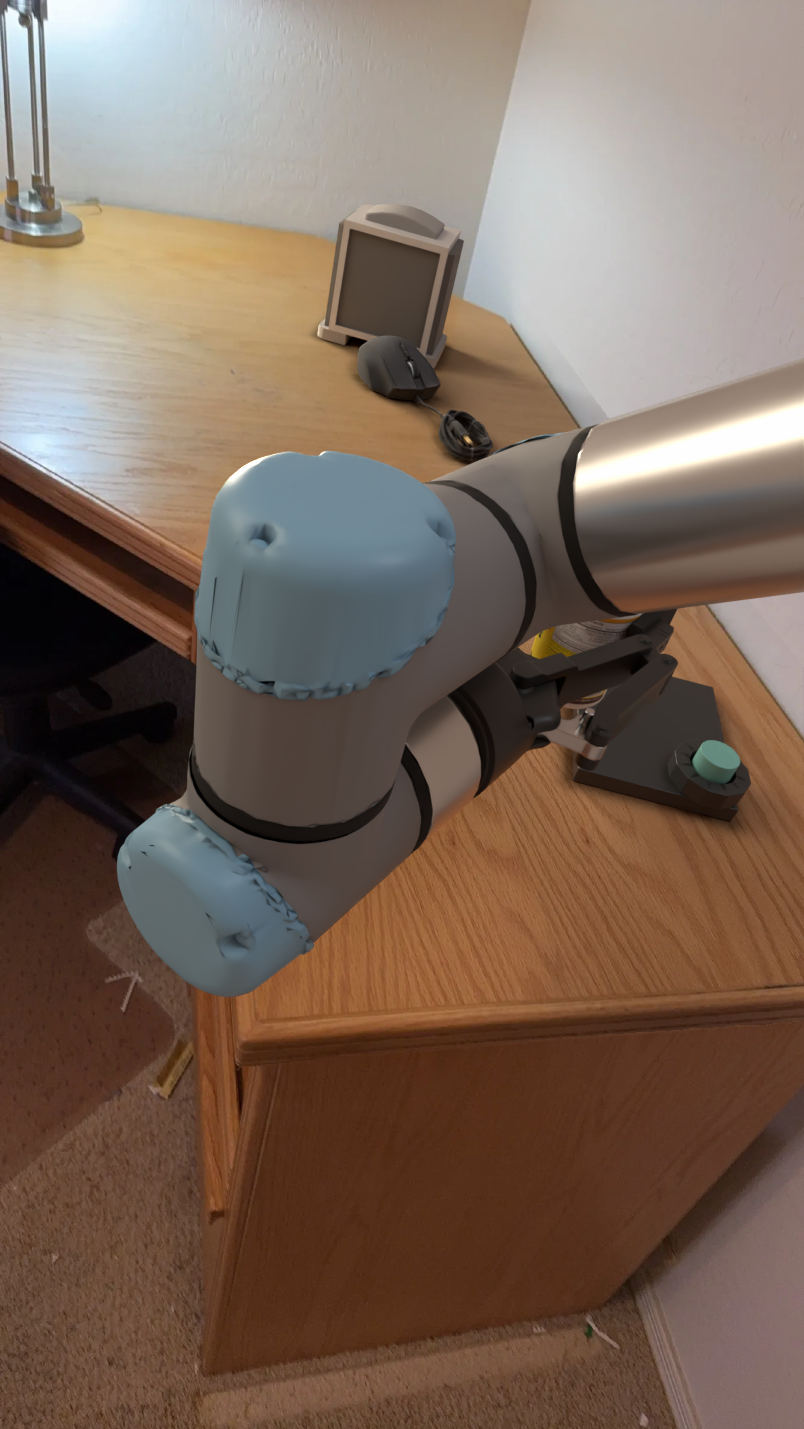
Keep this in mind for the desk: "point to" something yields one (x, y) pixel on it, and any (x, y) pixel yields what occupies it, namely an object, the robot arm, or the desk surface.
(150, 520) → the desk surface
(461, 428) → the computer mouse
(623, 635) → the supplement bottle
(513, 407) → the desk surface
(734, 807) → the scale
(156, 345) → the desk surface
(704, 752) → the button
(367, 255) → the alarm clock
